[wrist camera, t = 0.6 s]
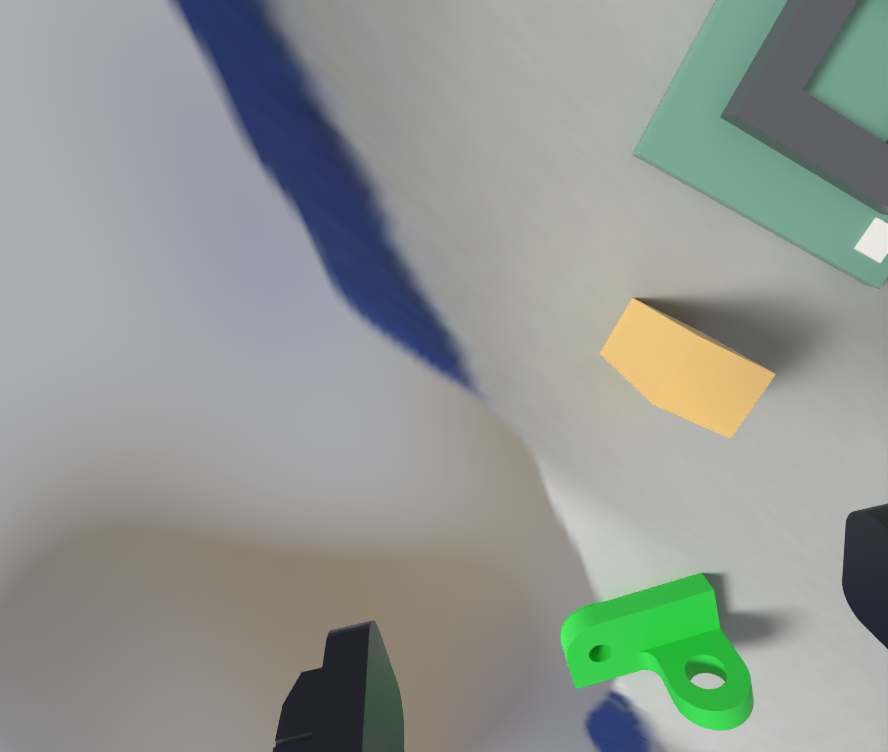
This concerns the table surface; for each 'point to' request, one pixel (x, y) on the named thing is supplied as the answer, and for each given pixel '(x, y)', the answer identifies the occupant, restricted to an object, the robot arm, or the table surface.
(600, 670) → the mechanical part
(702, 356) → the amber plug
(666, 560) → the table surface
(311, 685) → the robot arm
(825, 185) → the socket board
